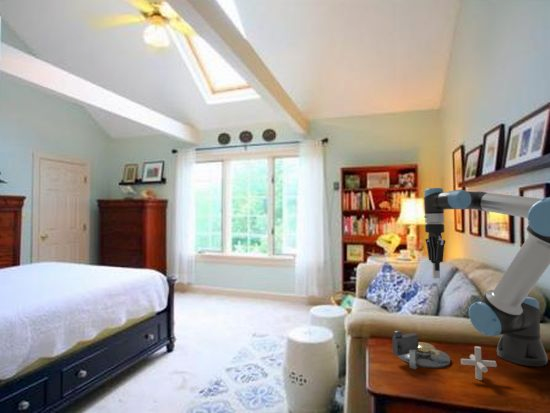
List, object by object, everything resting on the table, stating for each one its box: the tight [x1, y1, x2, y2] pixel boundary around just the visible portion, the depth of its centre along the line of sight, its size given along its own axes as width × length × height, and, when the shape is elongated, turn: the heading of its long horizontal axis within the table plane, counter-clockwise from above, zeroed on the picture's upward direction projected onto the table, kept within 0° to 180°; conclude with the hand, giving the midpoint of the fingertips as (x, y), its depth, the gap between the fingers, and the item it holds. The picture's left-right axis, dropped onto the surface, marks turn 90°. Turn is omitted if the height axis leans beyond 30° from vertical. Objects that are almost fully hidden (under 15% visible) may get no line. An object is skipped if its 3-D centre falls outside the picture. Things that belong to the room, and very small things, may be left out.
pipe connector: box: [460, 345, 498, 381], centre depth 108 cm, size 10×10×10 cm
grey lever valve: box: [391, 329, 440, 357], centre depth 124 cm, size 18×13×8 cm
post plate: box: [397, 348, 451, 370], centre depth 125 cm, size 18×21×6 cm
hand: (436, 278), depth 145 cm, fingers closed
